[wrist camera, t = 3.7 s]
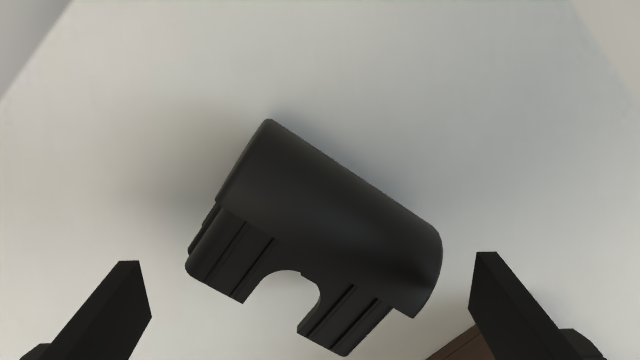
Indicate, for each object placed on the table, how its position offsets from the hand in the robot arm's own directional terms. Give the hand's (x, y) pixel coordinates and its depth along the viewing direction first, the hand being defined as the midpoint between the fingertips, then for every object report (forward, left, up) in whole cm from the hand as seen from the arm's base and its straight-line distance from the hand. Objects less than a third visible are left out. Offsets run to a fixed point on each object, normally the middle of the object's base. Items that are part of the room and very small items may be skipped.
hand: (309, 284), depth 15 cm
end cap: (0, 0, -8) cm, 8 cm away
